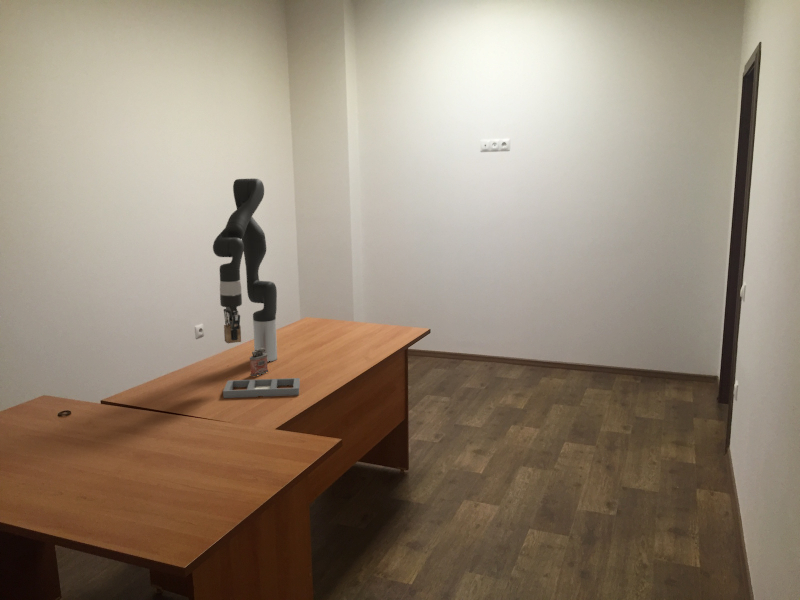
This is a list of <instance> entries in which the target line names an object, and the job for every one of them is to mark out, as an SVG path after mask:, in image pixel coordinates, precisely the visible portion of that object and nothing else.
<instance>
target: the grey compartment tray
mask: <svg viewBox="0 0 800 600" xmlns="http://www.w3.org/2000/svg"><path fill="white" fill-rule="evenodd" d="M300 379H301V378H300V377H291V378H289V377H287V378H285V377H284V378H264V379H263V378H261V379H238V380H237V379H235V380H233V379H232V380H231V379H230V380H227V381H226V384H225V386H224V388H223V390H222V394H223V398H224V399H231V398H257V397H258V396H263V397H281V396H283V397H284V396H285V397H286V396H287V397H288V396H299V395H300V386H301V381H300ZM287 385H289V386H293V387H287ZM281 386H282V387H283V388H282V387H281ZM233 387H235V388H246V389H234V388H233ZM277 387H278V388H277ZM279 387H280V388H279Z"/></svg>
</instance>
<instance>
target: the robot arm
mask: <svg viewBox="0 0 800 600" xmlns="http://www.w3.org/2000/svg"><path fill="white" fill-rule="evenodd" d="M232 191H233V198H234V202H235V203H234V204H235V206H236V210H235V211H233V212H232V213H231V215H230V216H229V218H228V219H227V221H226V225H225V227H224V228H223V229H222V231H221V232H220V233H219V234H218V235H217V236H216V238H215V239H214V241H213V245H212V251H213V253H214V255H215V256H217V257H218V258H231V261H230V262H226V263H223V264H220V266H219V299H220V300H219V301H220V303H219V304H220V306H221V307H222V308H224V309H223V316H224V323H225V324H224V325H230V329H231V340H233V341H234V340H237V339H238V333H237V330H238V329H239V328H240V326H241V324H240V322H241V315H240V314H239V311H238V307H240V306H242V305H243V300H242V299H243V298H242V297H243V296H242V284H241V274H240V273H241V270H240V269H241V262H242V258H243V255H244V264H245V273H246V290H247V291H246V292H247V298H248V300H249V301H250V302H251V303H254V304H263V308H262V309H260V310H257V311H255V312H253V314H252V326H253V345H254V346H253V347H254V348H253V349H254V350H253V351H255V350H256V349H258V350H260V349H262V348H265V350H266V351H265V352H263V353H267V354H268V356H267V363H268V362H269V361H270V362H274V361H276V360H277V359H278V349H277V348H278V345H277V343H278V342H277V318H276V316H277V309H278V308H277V306H278V305H277V302H278V300H277V297H278V296H277V295H278V293H277V292H278V291H277V286H276V284H275V283H274V281H268V280H260V278H259V270H260V265H261V264H262V262H263V260H264V258H265V256H266V253H267V240H266V235H265V232H264V230H263V228H262V227H261V226H260V225H259V223H258V222H257V221H256V219H254V217H253V215H254V214H255V212H256V211H257V209H258V207H259V206H260V204H261V202H262V201H263V199H264V195H265V186H264V183H263V180H261V179H260V178H237V179H235V180H234V181H233V186H232ZM235 324H236V326H234V325H235Z"/></svg>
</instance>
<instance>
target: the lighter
mask: <svg viewBox="0 0 800 600" xmlns="http://www.w3.org/2000/svg"><path fill="white" fill-rule="evenodd" d="M265 351H266V350H265V348H262V349H260V350H258V349H256V350H255V351H254V350H253V351H251V354H252V356H250V357H249V366H250V373H249V374H250V375H251V376H256V377H258V376H257V375H260V376H262V375H261V374H264V373H266V372H268V373H269V369H268V362H267V356H268V354H267V353H263V352H265ZM266 374H267V373H266ZM264 375H265V374H264ZM251 376H250V377H251Z"/></svg>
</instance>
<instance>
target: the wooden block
mask: <svg viewBox="0 0 800 600" xmlns="http://www.w3.org/2000/svg"><path fill="white" fill-rule="evenodd" d="M234 326H236V324H235V325H234ZM241 328H242V327H241V325H240V328H239V329H238V330H237V333H238V339H237V340H234V341H233V340H231V329H230V325H226V324H224V325H223V331H224V332H223V335H224V342H225V343H226V344H235V343H241V342H242V331H241V330H242V329H241Z"/></svg>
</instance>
